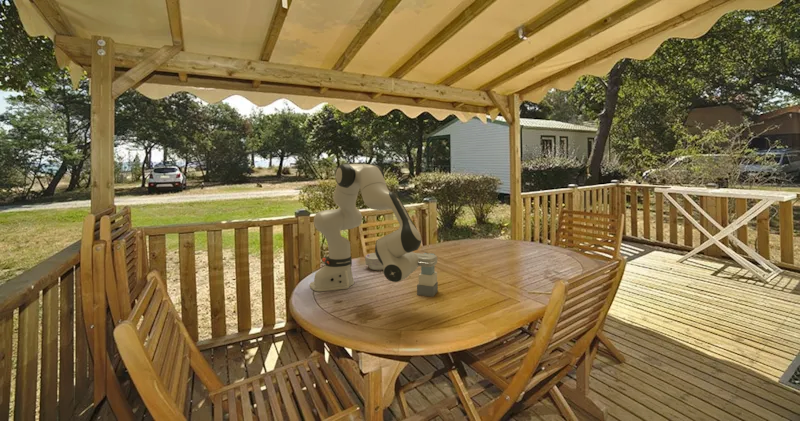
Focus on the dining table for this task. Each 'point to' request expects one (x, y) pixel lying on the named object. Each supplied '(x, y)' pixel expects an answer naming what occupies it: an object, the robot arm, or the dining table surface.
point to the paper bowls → (373, 262)
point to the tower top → (428, 279)
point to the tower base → (427, 290)
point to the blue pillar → (428, 269)
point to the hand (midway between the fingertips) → (418, 253)
